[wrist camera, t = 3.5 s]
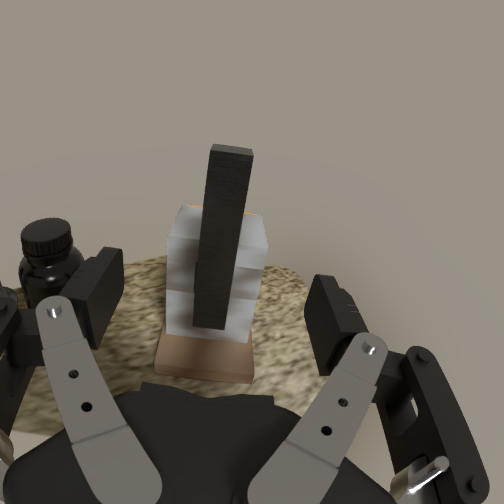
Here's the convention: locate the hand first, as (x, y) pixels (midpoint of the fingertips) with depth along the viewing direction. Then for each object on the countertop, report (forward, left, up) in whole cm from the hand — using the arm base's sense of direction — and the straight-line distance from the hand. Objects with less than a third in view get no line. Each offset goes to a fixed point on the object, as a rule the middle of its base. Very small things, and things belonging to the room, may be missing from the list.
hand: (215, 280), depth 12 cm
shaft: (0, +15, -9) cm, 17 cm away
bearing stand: (0, +15, -16) cm, 22 cm away
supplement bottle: (-15, +10, -16) cm, 24 cm away
